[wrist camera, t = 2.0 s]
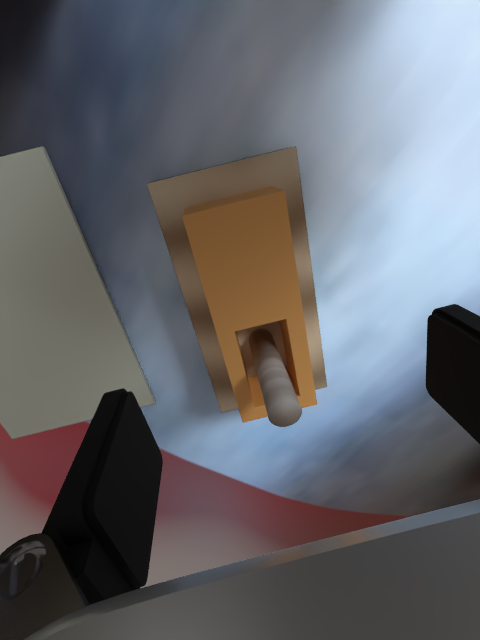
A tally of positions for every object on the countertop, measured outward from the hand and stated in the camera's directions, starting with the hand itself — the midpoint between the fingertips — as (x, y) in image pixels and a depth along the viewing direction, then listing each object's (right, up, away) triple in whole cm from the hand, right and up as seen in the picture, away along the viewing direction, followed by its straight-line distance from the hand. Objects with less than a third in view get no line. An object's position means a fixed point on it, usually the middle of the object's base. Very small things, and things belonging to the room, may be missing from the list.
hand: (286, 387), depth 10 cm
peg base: (-1, +4, +17) cm, 18 cm away
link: (-1, +3, +15) cm, 16 cm away
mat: (-19, +2, +16) cm, 25 cm away
